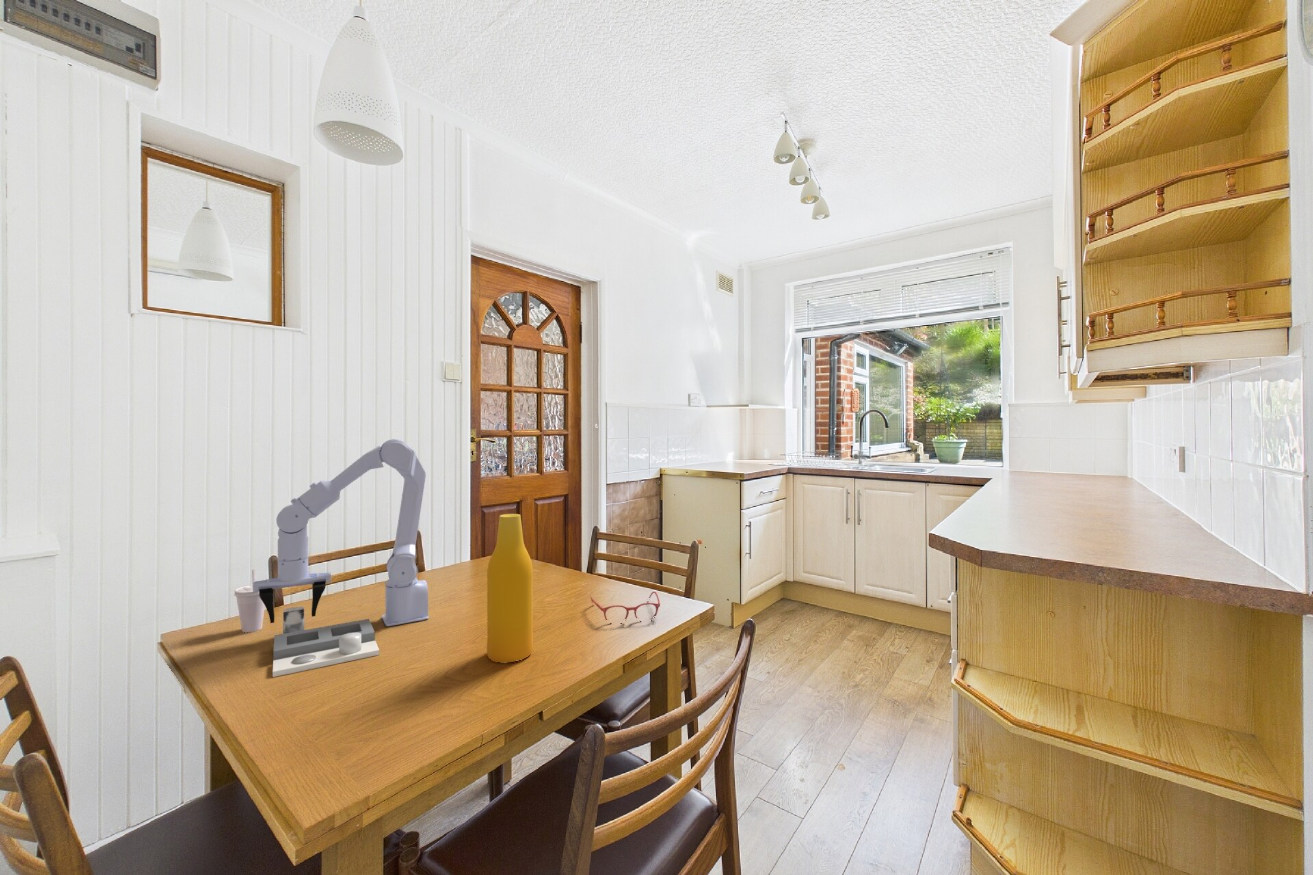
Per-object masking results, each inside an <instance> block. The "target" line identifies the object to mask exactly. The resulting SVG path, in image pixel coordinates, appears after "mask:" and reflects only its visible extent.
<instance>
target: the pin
mask: <svg viewBox="0 0 1313 875" xmlns="http://www.w3.org/2000/svg"><path fill="white" fill-rule="evenodd" d="M302 630H305V607H304V606H293V607H292V606H291V607H289V608H288V607H287V608H286V609H283V610H282V634H285V633H290V632H296V631H302Z"/></svg>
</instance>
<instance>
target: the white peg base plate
mask: <svg viewBox="0 0 1313 875" xmlns="http://www.w3.org/2000/svg"><path fill="white" fill-rule="evenodd" d="M376 656H380V648H379V645H378V644H377V640H375V641H371V642H366V643H361V633H348V634H344V635H342V636H340V637H339V648H335V649H330V650H325V651H320V652H315V653H309V654H304V655H299V656H294V657H289V658H284V659H279V660H274V659H273V662H272V677H273V678H275V677H279V676H284V675H286V676H287V675H289V674H294V673H299V672H304V671H309V670H314V669H319V668H323V667H327V666H332V665H338V664H342V663H346V662H351V661H357V660H361V659H366V658H371V657H376Z"/></svg>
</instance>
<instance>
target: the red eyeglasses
mask: <svg viewBox="0 0 1313 875" xmlns="http://www.w3.org/2000/svg"><path fill="white" fill-rule="evenodd" d="M654 594H655V596H656V599H657V603H654V602H646V603H645V602H644V603H639V604H638V605H636V606H632V607H631V606H630V607H629V606H625V605H622V604H621V605H620V604H618V605H617V604H616V605H615V604H614V605H610V606H606V607H602V606H601V605H600V604H599V603H598V602H596V601H595V599H593V597H592V596H591V595H590V596H589V597H590V600H591V604H592V603H593V604H594V605H596V607H597V608H598V609H599V610H600V611H601V612H603V615H604V616H603V617H604V619H605V621H606V620H608V618H607V615H606V614H607V613H606V612H608V610H609V609H611V608H623V609H624V610H625V611H626V614H625V617H624V619H626V620H627V618H628V617H629V614H630V612H629V611H634V612H633V613H634V616H635V618H636V619H637V618H638V616H637V610H638V608H641V606H646V605H653V606H654V607H655V613H654V615H653V617H654V616H657V614H658V612H659V608H660V607H661V602H660V597H659V596H658V592H656V591H652V592H651V593H650V595H649V597H648V598H650V599H651V598H652V595H654Z"/></svg>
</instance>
